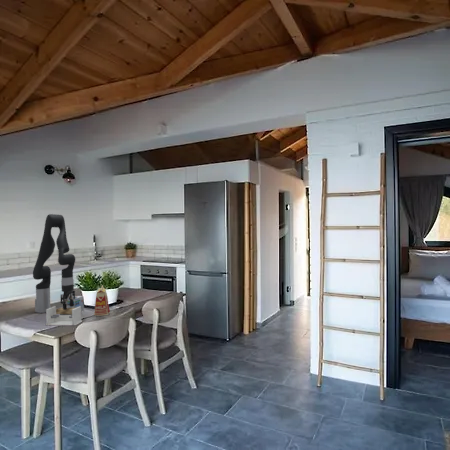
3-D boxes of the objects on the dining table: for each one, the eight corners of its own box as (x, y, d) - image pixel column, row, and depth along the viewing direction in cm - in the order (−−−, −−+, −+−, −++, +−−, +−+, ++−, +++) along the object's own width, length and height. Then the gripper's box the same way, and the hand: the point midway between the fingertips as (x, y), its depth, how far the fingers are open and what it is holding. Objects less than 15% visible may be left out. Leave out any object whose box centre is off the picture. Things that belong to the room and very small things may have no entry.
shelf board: (56, 313, 237) (55, 309, 237) (60, 312, 242) (60, 307, 242) (75, 314, 235) (75, 309, 235) (79, 312, 240) (79, 307, 240)
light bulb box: (75, 313, 252) (75, 298, 252) (66, 313, 253) (66, 298, 253) (84, 310, 262) (83, 295, 262) (76, 309, 264) (75, 295, 264)
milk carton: (97, 312, 254) (96, 285, 254) (110, 312, 255) (109, 284, 254) (93, 316, 245) (93, 287, 244) (107, 315, 245) (106, 287, 245)
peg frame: (45, 325, 225) (45, 309, 225) (53, 321, 234) (53, 306, 234) (75, 325, 223) (74, 309, 223) (82, 321, 232) (82, 306, 232)
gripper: (67, 282, 246) (68, 305, 246) (56, 285, 232) (57, 310, 232) (78, 282, 245) (79, 305, 245) (67, 285, 231) (67, 310, 231)
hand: (68, 307), depth 238 cm, fingers open, 8 cm apart
